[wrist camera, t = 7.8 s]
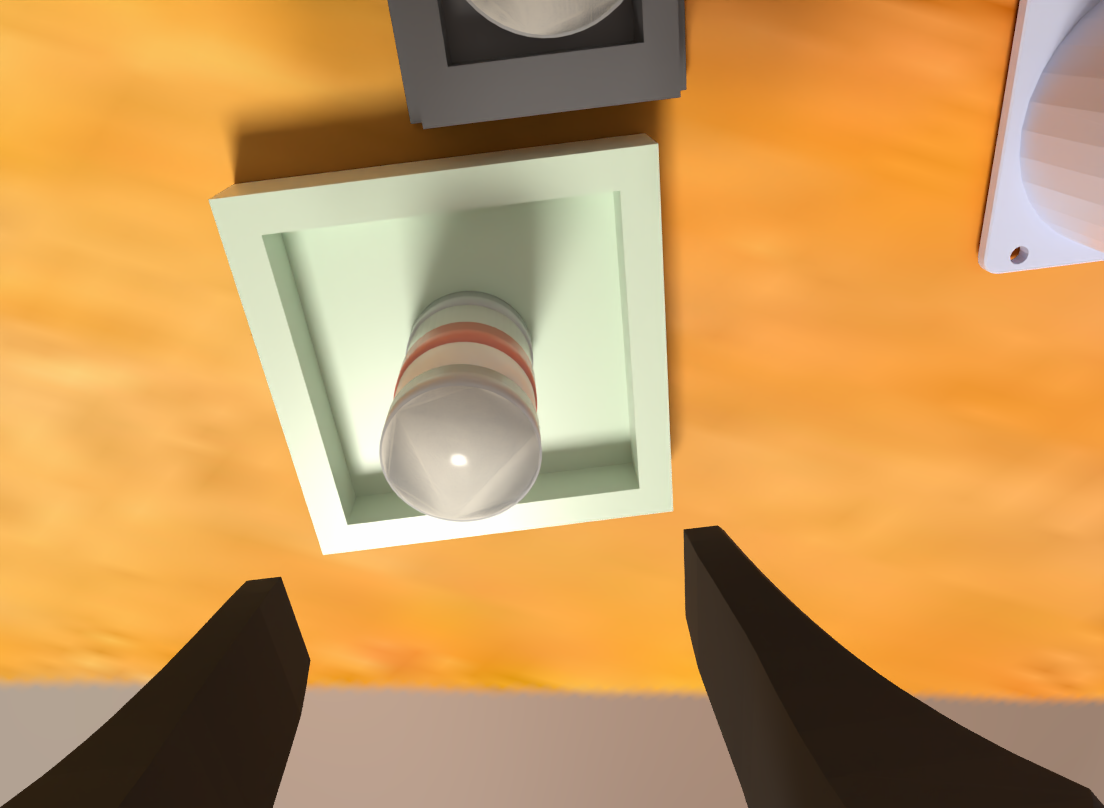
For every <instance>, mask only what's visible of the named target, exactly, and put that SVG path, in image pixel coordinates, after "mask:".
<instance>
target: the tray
mask: <svg viewBox="0 0 1104 808" xmlns="http://www.w3.org/2000/svg"><path fill="white" fill-rule="evenodd" d="M209 203H210V206H211V209H212V212H213V215H214V218H215V221H216V225H217V228H218V231H219V234H220V237H221V240H222V243H223V246H224V249H225V252H226V255H227V259H228V262H229V265H230V268H231V271H232V274H233V277H234V280H235V283H236V286H237V290H238V293H239V296H240V299H241V302H242V305H243V308H244V311H245V314H246V317H247V321H248V324H249V327H250V330H251V333H252V336H253V339H254V342H255V345H256V348H257V351H258V355H259V358H260V361H261V364H262V367H263V370H264V373H265V376H266V379H267V382H268V386H269V389H270V392H271V395H272V398H273V401H274V404H275V407H276V410H277V413H278V417H279V420H280V423H281V426H282V429H283V432H284V435H285V438H286V441H287V444H288V448H289V451H290V454H291V457H292V460H293V463H294V466H295V469H296V472H297V475H298V478H299V482H300V485H301V488H302V491H303V494H304V497H305V500H306V503H307V506H308V509H309V513H310V516H311V519H312V522H313V525H314V528H315V531H316V534H317V537H318V540H319V544H320V547H321V550H322V553H323V555H326V554H334V553H342V552H350V551H358V550H366V549H374V548H382V547H390V546H398V545H406V544H414V543H422V542H430V541H438V540H446V539H454V538H462V537H470V536H478V535H486V534H494V533H502V532H510V531H518V530H526V529H534V528H542V527H550V526H558V525H566V524H574V523H582V522H590V521H598V520H606V519H614V518H622V517H630V516H638V515H646V514H654V513H662V512H670V511H673V496H672V471H671V447H670V422H669V397H668V372H667V347H666V322H665V298H664V273H663V248H662V223H661V198H660V173H659V148H658V143H657V142H656V141H654V140H653V139H652V138H651V137H649V136H648V135H647V134H646V133H641V134H633V135H625V136H617V137H609V138H601V139H593V140H585V141H577V142H569V143H561V144H552V145H544V146H536V147H528V148H520V149H512V150H504V151H496V152H488V153H480V154H472V155H464V156H456V157H448V158H440V159H432V160H424V161H416V162H408V163H399V164H391V165H383V166H375V167H367V168H359V169H351V170H343V171H335V172H327V173H319V174H311V175H303V176H295V177H287V178H279V179H271V180H263V181H255V182H247V183H238V184H233V185H231V186H230V187H228V188H227V189H225V190H223V191H222V192H220V193H218V194H217V195H215V196H214V197H212V198H210V199H209ZM461 291H478V292H484V293H488V294H491V295H493V296H496V297H498V298H500V299H502V300H504V301H505V302H507V303H508V304H510V305H511V306H512V307H513V308H514V309H515V310H516V311H517V312H518V313H519V314H520V315H521V317H522V318H523V320H524V321H525V323H526V325H527V327H528V329H529V333H530V336H531V341H532V350H533V370H534V374H535V382H536V392H537V416H538V419H539V426H540V435H541V446H542V461H541V467H540V471H539V474H538V477H537V479H536V481H535V483H534V485H533V486H532V488H531V489H530V491H529V492H528V493H527V494H526V495H525V497H524V498H523V499H522V500H520V501H519V502H518V503H517V504H516V505H514V506H513V507H511V508H510V509H508V510H507V511H505V512H503V513H501V514H499V515H496V516H493V517H491V518H487V519H483V520H478V521H471V522H454V521H446V520H441V519H437V518H434V517H430V516H428V515H426V514H423V513H421V512H419V511H417V510H416V509H414V508H412V507H411V506H409V505H408V504H407V503H405V502H404V501H403V500H402V499H401V498H400V497H399V496H398V495H397V494H396V493H395V492H394V491H393V489H392V488H391V487H390V485H389V483H388V482H387V480H386V478H385V476H384V474H383V471H382V467H381V464H380V457H379V445H380V440H381V435H382V431H383V428H384V424H385V421H386V417H387V414H388V411H389V408H390V406H391V404H392V402H393V398H394V391H395V386H396V383H397V379H398V376H399V372H400V369H401V366H402V363H403V360H404V358H405V356H406V349H407V344H408V341H409V337H410V334H411V331H412V328H413V325H414V323H415V321H416V319H417V318H418V316H419V315H420V314H421V312H422V311H423V310H424V309H425V308H426V307H427V306H428V305H430V304H431V303H432V302H433V301H435V300H437V299H439V298H440V297H443V296H445V295H447V294H451V293H455V292H461Z"/></svg>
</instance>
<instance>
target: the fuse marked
mask: <svg viewBox="0 0 1104 808" xmlns="http://www.w3.org/2000/svg"><path fill="white" fill-rule="evenodd" d="M379 457H380V464H381V467H382V471H383V474H384V476H385V478H386V480H387V482H388V483H389V485H390V487H391V488H392V489H393V491H394V492H395V493H396V494H397V495H398V496H399V497H400V498H401V499H402V500H403V501H404V502H405V503H407V504H408V505H409V506H411V507H412V508H414V509H416V510H417V511H419V512H421V513H423V514H426V515H428V516H430V517H434V518H437V519H441V520H446V521H454V522H471V521H478V520H483V519H487V518H491V517H493V516H496V515H499V514H501V513H503V512H505V511H507V510H508V509H510V508H511V507H513V506H514V505H516V504H517V503H518V502H519V501H520V500H522V499H523V498H524V497H525V495H526V494H527V493H528V492H529V491H530V489H531V488H532V486H533V485H534V483H535V481H536V479H537V477H538V474H539V471H540V467H541V461H542V446H541V435H540V426H539V419H538V416H537V392H536V382H535V374H534V370H533V350H532V341H531V336H530V333H529V329H528V327H527V325H526V323H525V321H524V320H523V318H522V317H521V315H520V314H519V313H518V312H517V311H516V310H515V309H514V308H513V307H512V306H511V305H510V304H508V303H507V302H505V301H504V300H502V299H500V298H498V297H496V296H493V295H491V294H488V293H484V292H478V291H461V292H455V293H451V294H447V295H445V296H443V297H440V298H439V299H437V300H435V301H433V302H432V303H431V304H430V305H428V306H427V307H426V308H425V309H424V310H423V311H422V312H421V314H420V315H419V316H418V318H417V319H416V321H415V323H414V325H413V328H412V331H411V334H410V337H409V341H408V344H407V349H406V356H405V358H404V360H403V363H402V366H401V369H400V372H399V376H398V379H397V383H396V386H395V391H394V398H393V402H392V404H391V406H390V408H389V411H388V414H387V417H386V421H385V424H384V428H383V431H382V435H381V440H380V445H379Z"/></svg>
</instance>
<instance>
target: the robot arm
mask: <svg viewBox="0 0 1104 808" xmlns="http://www.w3.org/2000/svg"><path fill="white" fill-rule="evenodd" d="M1017 247H1020V252H1019V254H1018V255H1017V256H1016V257H1015V258H1014V259H1012V260H1010V256H1011V253H1012V251H1014V250H1015V249H1016V248H1017ZM1096 261H1104V0H1020V3H1019V9H1018V15H1017V21H1016V27H1015V34H1014V40H1013V46H1012V52H1011V58H1010V64H1009V70H1008V76H1007V82H1006V88H1005V95H1004V101H1003V107H1002V113H1001V119H1000V125H999V131H998V137H997V143H996V149H995V156H994V162H993V168H992V174H991V180H990V186H989V192H988V198H987V204H986V210H985V217H984V223H983V229H982V235H981V241H980V247H979V253H978V263H979V265H980V266H981V267H982V268H983V269H985V270H987V271H989V272H991V273H996V274H999V273H1007V272H1015V271H1023V270H1031V269H1040V268H1048V267H1056V266H1064V265H1072V264H1080V263H1088V262H1096ZM684 567H685V610H686V620H687V624H688V628H689V632H690V637H691V641H692V645H693V649H694V653H695V657H696V661H697V665H698V669H699V672H700V675H701V677H702V680H703V683H704V686H705V689H706V691H707V694H708V697H709V700H710V702H711V705H712V708H713V711H714V713H715V716H716V719H717V721H718V724H719V726H720V729H721V732H722V735H723V738H724V740H725V743H726V746H727V748H728V751H729V754H730V756H731V759H732V762H733V765H734V767H735V770H736V773H737V776H738V778H739V781H740V784H741V787H742V789H743V793H744V796H745V799H746V802H747V805H748V808H1104V805H1103V804H1102V803H1101V802H1100V801H1099V800H1098V798H1097V797H1096V796H1095V795H1094V794H1093V792H1091V790H1090V789H1089V788H1086V787H1084V786H1082V785H1080V784H1078V783H1076V782H1074V781H1071V780H1069V779H1067V778H1065V777H1063V776H1061V775H1058V774H1056V773H1054V772H1052V771H1050V770H1048V769H1046V768H1043V767H1041V766H1039V765H1037V764H1035V763H1033V762H1031V761H1029V760H1026V759H1024V758H1022V757H1020V756H1018V755H1016V754H1013V753H1012V752H1010V751H1008V750H1006V749H1004V748H1002V747H1000V746H998V745H996V744H994V743H993V742H991V741H989V740H987V739H985V738H983V737H981V736H980V735H978V734H976V733H974V732H972V731H970V730H968V729H967V728H965V727H963V726H961V725H959V724H958V723H956V722H954V721H953V720H951V719H949V718H947V717H946V716H944V715H942V714H941V713H939V712H937V711H936V710H934V709H933V708H931V707H929V706H928V705H926V704H925V703H923V702H921V701H920V700H918V699H917V698H915V697H913V696H912V695H910V694H909V693H907V692H905V691H904V690H902V689H900V688H899V687H898V686H896V685H895V684H893V683H892V682H890V681H889V680H887V679H886V678H884V677H883V676H881V675H880V674H879V673H877V672H876V671H875V670H873V669H872V668H871V667H869V666H868V665H866V664H865V663H864V662H862V661H861V660H860V659H858V658H857V657H856V656H854V655H853V654H852V653H851V652H849V651H848V650H847V649H845V648H844V647H843V646H842V645H841V644H839V643H838V642H837V641H836V640H834V639H833V638H832V637H831V636H830V635H828V634H827V633H826V632H825V631H824V630H823V629H821V628H820V627H819V626H818V625H817V624H816V623H814V622H813V621H812V620H811V619H810V618H809V617H808V616H807V615H806V614H804V613H803V612H802V611H801V610H800V609H799V608H798V607H797V606H796V605H795V604H794V603H793V602H792V601H790V600H789V599H788V598H787V597H786V596H785V595H784V594H783V593H782V592H781V591H780V590H779V589H778V588H777V587H776V586H775V585H774V584H773V583H772V582H771V581H770V580H769V579H768V578H767V577H766V576H765V575H764V574H763V573H762V572H761V571H760V570H759V569H758V568H757V567H756V566H755V565H754V564H753V562H752V561H751V560H750V559H749V558H748V557H747V556H746V555H745V554H744V553H743V552H742V551H741V549H740V548H739V547H738V546H737V545H736V544H735V543H734V542H733V540H732V539H731V538H730V537H729V536H728V535H727V533H726V532H725V531H724V530H723V529H721V528H720V527H719V526H710V527H701V528H693V529H684ZM309 665H310V658H309V655H308V652H307V649H306V646H305V643H304V641H303V638H302V635H301V632H300V629H299V626H298V624H297V621H296V618H295V615H294V612H293V610H292V607H291V604H290V601H289V598H288V595H287V593H286V590H285V587H284V584H283V581H282V578H281V577H275V578H267V579H258V580H250V581H246V582H245V583H244V584H243V585H242V586H241V587H240V588H239V589H238V590H237V591H236V592H235V593H234V594H233V595H232V596H231V597H230V598H229V599H228V601H227V602H226V603H225V604H224V605H223V606H222V607H221V608H220V609H219V610H218V611H217V612H216V613H215V614H214V615H213V616H212V618H211V619H210V620H209V621H208V622H207V623H206V624H205V625H204V626H203V627H202V628H201V629H200V630H199V631H198V632H197V633H196V634H195V636H194V637H193V638H192V639H191V640H190V641H189V642H188V643H187V644H186V645H185V646H184V647H183V648H182V649H181V650H180V651H179V652H178V653H177V654H176V655H175V656H174V657H173V658H172V659H171V660H170V661H169V662H168V664H167V665H166V666H165V667H164V668H163V669H162V670H161V671H160V672H159V673H158V674H156V675H155V676H154V677H153V678H152V679H151V680H150V681H149V682H148V683H147V684H146V685H145V686H144V687H143V688H142V689H141V690H140V691H139V692H138V693H137V694H136V695H135V696H134V697H133V698H132V699H130V700H129V701H128V702H127V703H126V704H125V705H124V706H123V707H122V708H121V709H120V710H119V711H118V712H117V713H116V714H115V715H114V716H113V717H112V718H110V719H109V720H108V721H107V722H106V723H105V724H104V725H103V726H102V727H100V728H99V729H98V730H97V731H96V732H95V733H94V734H92V735H91V736H90V737H89V738H88V739H87V740H86V741H84V742H83V743H82V744H81V745H80V746H78V747H77V748H76V749H75V750H74V751H72V752H71V753H70V754H69V755H67V756H66V757H65V758H64V759H63V760H61V761H60V762H59V763H58V764H57V765H56V766H54V767H53V768H52V769H51V770H49V771H48V772H47V773H45V774H44V775H43V776H42V777H40V778H39V779H38V780H36V781H35V782H34V783H32V784H31V785H30V786H28V787H27V788H25V789H24V790H23V791H22V792H20V793H19V794H17V795H16V796H15V797H13V798H12V799H11V800H9V801H8V802H7V803H5V804H4V805H3V806H1V807H0V808H273V805H274V802H275V798H276V795H277V792H278V789H279V786H280V782H281V779H282V776H283V773H284V770H285V767H286V763H287V760H288V756H289V754H290V750H291V747H292V744H293V740H294V737H295V734H296V730H297V727H298V723H299V720H300V716H301V712H302V707H303V701H304V696H305V691H306V685H307V678H308V672H309Z"/></svg>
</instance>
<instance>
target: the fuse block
mask: <svg viewBox="0 0 1104 808" xmlns="http://www.w3.org/2000/svg"><path fill="white" fill-rule="evenodd" d="M388 5H389V10H390V16H391V21H392V26H393V32H394V37H395V42H396V48H397V53H398V58H399V64H400V69H401V74H402V80H403V85H404V90H405V96H406V101H407V106H408V112H409V117H410V122H411V124H415V123H422V125H423V129H428V128H437V127H445V126H453V125H461V124H469V123H477V122H485V121H493V120H501V119H509V118H517V117H525V116H533V115H541V114H549V113H557V112H565V111H573V110H581V109H590V108H598V107H606V106H614V105H622V104H630V103H638V102H646V101H654V100H662V99H670V98H678V97H680V91H681V90H686V50H685V6H684V0H623V1H622V3H621V4H620V5H619V6H618V7H617V8H616V9H615V10H613V11H612V12H611V13H610V14H609V15H608V16H607V17H605V18H604V19H602V20H601V21H599V22H598V23H597V24H595V25H593V26H591V27H589V28H587V29H585V30H583V31H580V32H577V33H574V34H572V35H567V36H562V37H557V38H535V37H527V36H523V35H519V34H515V33H513V32H510V31H508V30H505V29H503V28H501V27H499V26H497V25H496V24H494V23H492V22H490V21H489V20H488V19H486V18H485V17H484V16H482V15H481V14H480V13H478V12H477V11H476V10H475V9H474V8H473V7H472V6H471V5H470V4H469V3H468V2H467V1H466V0H388Z"/></svg>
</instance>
